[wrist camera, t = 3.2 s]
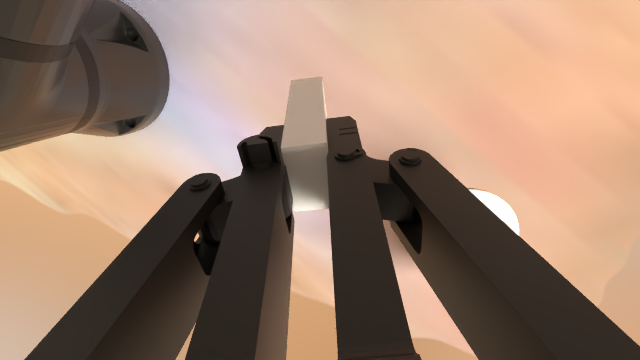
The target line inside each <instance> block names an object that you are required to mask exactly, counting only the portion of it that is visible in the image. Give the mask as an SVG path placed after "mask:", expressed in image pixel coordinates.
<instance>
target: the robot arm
mask: <svg viewBox="0 0 640 360" xmlns="http://www.w3.org/2000/svg"><path fill="white" fill-rule="evenodd" d="M168 91H169V69H168V63H167V59H166V56H165V53H164V50H163V48H162V45H161V43H160V41H159V39H158V37H157V36H156V34H155V33H154V31H153V30H152V28H151V27H150V26H149V24H148V23H147V22H146V21H145V20H144V19H143V18H142V17H141V16H140V15H139V14H138V13H137V12H136V11H134V10H133V9H132V8H130V7H129V6H127V5H126V4H124V3H122V2H120V1H118V0H0V151H4V150H8V149H11V148H15V147H19V146H22V145H26V144H30V143H33V142H37V141H41V140H45V139H49V138H52V137H56V136H60V135H63V134H67V133H78V134H87V135H96V136H105V137H114V136H122V135H126V134H129V133H132V132H136V131H138V130H141V129H143V128H145V127H147V126H148V125H150V124H151V123H152V122H153V121H154V120H155V119H156V118H157V117H158V116H159V114H160V113H161V111H162V109H163V107H164V105H165V103H166V100H167V96H168ZM237 149H238V152H239V155H240V159H241V162H242V165H243V169H242V173H241V175H240V176H238V177H236V178H233V179H230V180H227V181H223V182H221V179H220V177H219V176H218V175H217V174H213V173H202V174H199V175H195V176H193V177H192V178H190V179H188V180H187V181H185V182H184V183H183V184H182V185H181V186H180V187H179V188H178V189H177V191H176V192H175V193H174V194H173V195H172V196H171V197H170V198H169V199H168V201H167V202H166V203H165V204H164V205H163V206H162V207H161V208H160V209H159V211H158V212H157V213H156V214H155V215H154V216H153V217H152V218H151V219H150V221H149V222H148V223H147V224H146V225H145V226H144V227H143V228H142V229H141V231H140V232H139V233H138V234H137V235H136V236H135V237H134V238H133V239H132V241H131V242H130V243H129V244H128V245H127V246H126V247H125V248H124V249H123V251H122V252H121V253H120V254H119V255H118V256H117V257H116V258H115V260H114V261H113V262H112V263H111V264H110V265H109V266H108V267H107V269H105V271H104V272H103V273H102V274H101V275H100V276H99V277H98V278H97V279H96V281H95V282H94V283H93V284H92V285H91V286H90V287H89V288H88V289H87V291H86V292H85V293H84V294H83V295H82V296H81V297H80V298H79V299H78V301H77V302H76V303H75V304H74V305H73V306H72V307H71V309H69V311H68V312H67V313H66V314H65V315H64V316H63V317H62V318H61V319H60V321H59V322H58V323H57V324H56V325H55V326H54V327H53V328H52V329H51V331H50V332H49V333H48V334H47V335H46V336H45V337H44V338H43V339H42V341H41V342H40V343H39V344H38V345H37V347H35V348H34V349H33V351H32V352H31V353H30V354H29V355H28V356H27V357H26V358H25V359H24V360H175V359H176V357H177V356H178V354H179V352H180V350H181V348H182V347H183V345H184V343H185V341H186V339H187V338H188V336H189V334H190V332H191V330H192V329H193V326H194V325H195V323H196V325H195V328H194V331H193V334H192V338H191V341H190V344H189V348H188V351H187V354H186V358H185V360H286V350H287V334H288V317H289V301H290V285H291V268H292V252H293V236H294V217H293V213H292V204H293V207H294V211H295V212H299V211H308V210H317V209H326V208H329V210H330V227H331V244H332V261H333V278H334V295H335V312H336V330H337V347H338V360H421V357H420V355H419V354H417V353H416V352H415V349H414V346H413V343H412V339H411V335H410V331H409V327H408V322H407V318H406V314H405V310H404V306H403V302H402V298H401V294H400V290H399V286H398V282H397V278H396V274H395V270H394V266H393V262H392V257H391V253H390V249H389V245H388V241H387V237H386V233H385V229H384V225H383V221H382V220H390V224H391V227H392V228H393V230H394V231H395V233H396V234H397V236H398V237H399V239H400V241H401V242H402V244H403V245H404V247H405V248H406V250H407V251H408V253H409V254H410V256H411V257H412V259H413V260H414V262H415V263H416V265H417V266H418V268H419V269H420V271H421V272H422V274H423V276H424V277H425V279H426V280H427V282H428V283H429V285H430V286H431V288H432V289H433V291H434V292H435V294H436V295H437V297H438V298H439V300H440V301H441V303H442V304H443V306H444V307H445V309H446V311H447V312H448V314H449V315H450V317H451V318H452V320H453V321H454V323H455V324H456V326H457V327H458V329H459V330H460V332H461V333H462V335H463V336H464V338H465V339H466V341H467V343H468V344H469V346H470V347H471V349H472V350H473V352H474V353H475V355H476V356H477V358H478V359H479V360H640V346H639V345H637V344H636V343H635V342H634V341H633V340H632V339H631V338H630V337H629V336H627V334H626V333H624V332H623V331H622V330H621V329H620V328H619V327H618V326H617V325H616V324H615V323H613V322H612V321H611V320H610V319H609V318H608V317H607V316H606V315H605V314H604V313H603V312H601V311H600V310H599V309H598V308H597V307H596V306H595V305H594V304H593V303H592V302H591V301H590V300H588V299H587V298H586V297H585V296H584V295H583V294H582V293H581V292H580V291H579V290H578V289H576V288H575V287H574V286H573V285H572V284H571V283H570V282H569V281H568V280H567V279H565V278H564V277H563V276H562V275H561V274H560V273H559V272H558V271H557V270H556V269H555V268H553V267H552V266H551V265H550V264H549V263H548V262H547V261H546V260H545V259H544V258H543V257H541V256H540V255H539V254H538V253H537V252H536V251H535V250H534V249H533V248H532V247H531V246H529V245H528V244H527V243H526V242H525V241H524V240H523V239H522V238H521V237H520V236H519V235H517V234H516V233H515V232H514V231H513V230H512V229H511V228H510V227H509V226H508V225H507V224H505V223H504V222H503V221H502V220H501V219H500V218H499V217H498V216H497V215H496V214H494V213H493V212H492V211H491V210H490V209H489V208H488V207H487V206H486V205H485V204H484V203H482V202H481V201H480V200H479V199H478V198H477V197H476V196H475V195H474V194H473V193H472V192H470V191H469V190H468V189H467V188H466V187H465V186H464V185H463V184H462V183H461V182H460V181H458V180H457V179H456V178H455V177H454V176H453V175H452V174H451V173H450V172H449V171H448V170H446V169H445V168H444V167H443V166H442V165H441V164H440V163H439V162H438V161H437V160H435V159H434V158H433V157H432V156H431V155H430V154H429V153H427V152H425V151H423V150H419V149H415V148H407V149H401V150H398V151H396V152H394V153H393V154H391V155H390V158H389V161H384V160H376V159H373V158H370V157H368V156H367V155H366V152H365V151H364V149H362V145H361V141H360V137H359V133H358V129H357V125H356V121H355V120H354V119H353V118H351V117H350V116H346V117H338V118H329V119H327V113H326V105H325V97H324V89H323V81H322V77H315V78H308V79H300V80H292V81H291V85H290V91H289V97H288V104H287V110H286V117H285V123H284V125H280V126H272V127H266V128H265V129H264V130H263V131H262V132H261V133H260V135H255V136H251V137H248V138H246V139H244V140H243V141H241V142H240V143H239V144H238V145H237ZM197 233H198V234H199V236H200V237H199V238H198V239H197V241H196V242H194V238H195V236H196V234H197Z"/></svg>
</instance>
